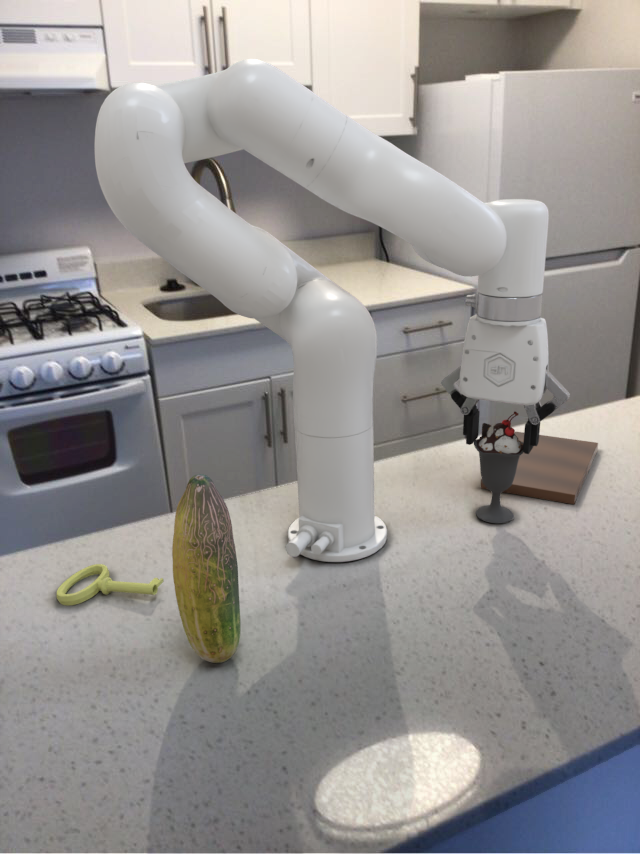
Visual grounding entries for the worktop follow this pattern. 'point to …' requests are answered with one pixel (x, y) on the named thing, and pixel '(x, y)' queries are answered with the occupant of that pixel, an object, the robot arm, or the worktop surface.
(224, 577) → the vegetable
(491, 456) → the sundae
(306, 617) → the worktop surface
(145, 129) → the robot arm
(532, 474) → the serving board
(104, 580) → the key
